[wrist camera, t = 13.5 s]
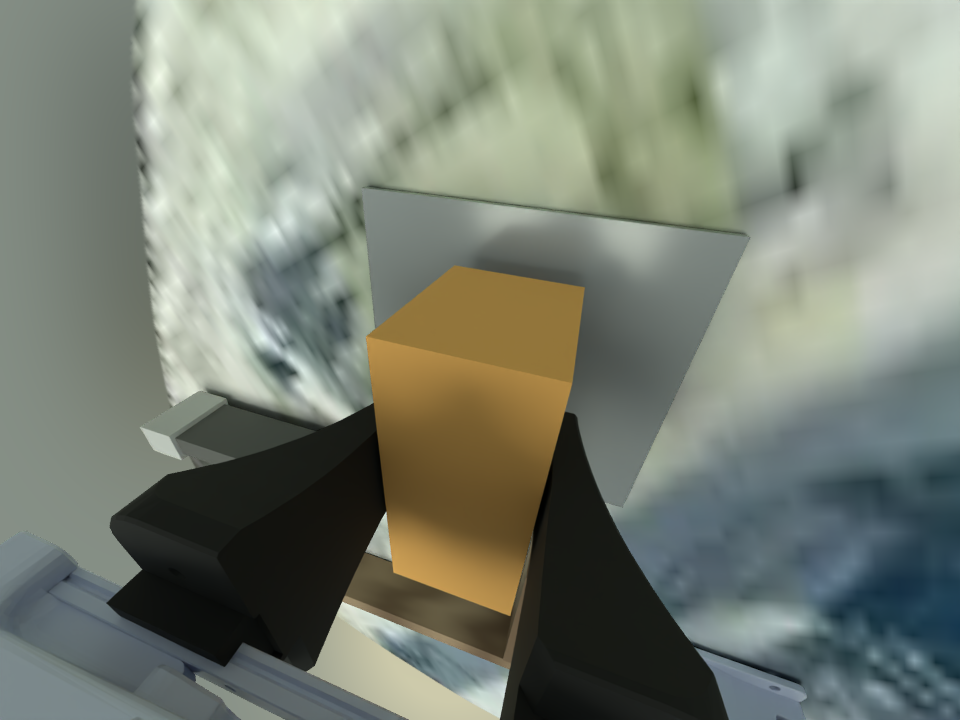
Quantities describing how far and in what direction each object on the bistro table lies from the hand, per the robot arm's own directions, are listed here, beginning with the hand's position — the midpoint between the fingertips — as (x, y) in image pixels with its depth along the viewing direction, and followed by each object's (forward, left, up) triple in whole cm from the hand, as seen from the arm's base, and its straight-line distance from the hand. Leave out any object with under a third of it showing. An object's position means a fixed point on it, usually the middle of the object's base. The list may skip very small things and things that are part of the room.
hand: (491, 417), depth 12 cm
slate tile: (0, 0, -3) cm, 3 cm away
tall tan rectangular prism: (0, 0, -2) cm, 2 cm away
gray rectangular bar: (+14, +7, -3) cm, 16 cm away
